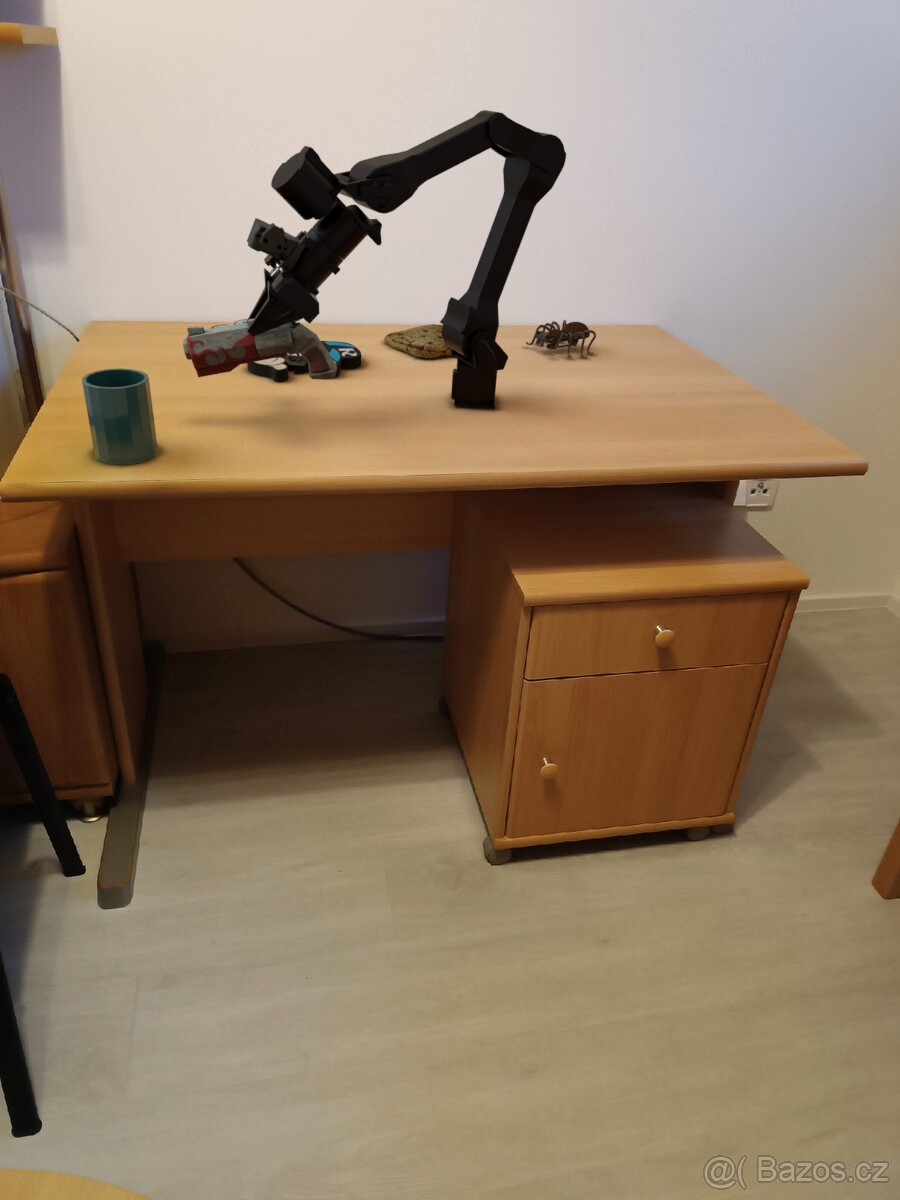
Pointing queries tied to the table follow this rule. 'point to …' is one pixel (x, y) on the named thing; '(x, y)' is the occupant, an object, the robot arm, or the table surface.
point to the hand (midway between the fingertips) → (249, 329)
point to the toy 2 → (563, 336)
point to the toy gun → (256, 348)
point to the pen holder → (120, 416)
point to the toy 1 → (278, 367)
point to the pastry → (419, 341)
